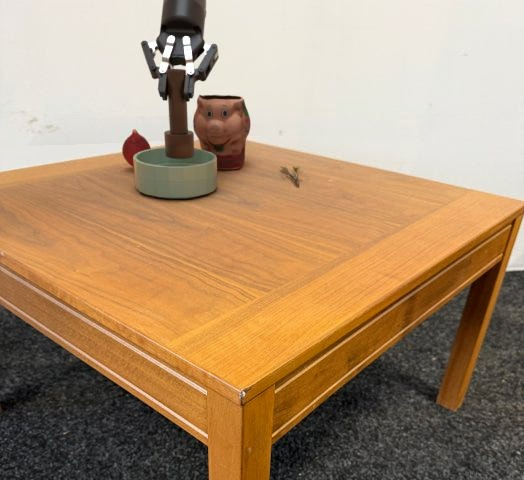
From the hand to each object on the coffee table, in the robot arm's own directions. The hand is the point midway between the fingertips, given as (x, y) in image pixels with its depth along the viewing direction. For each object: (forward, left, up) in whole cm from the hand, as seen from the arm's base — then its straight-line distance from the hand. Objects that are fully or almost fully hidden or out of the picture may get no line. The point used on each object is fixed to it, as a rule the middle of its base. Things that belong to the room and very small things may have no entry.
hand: (175, 97), depth 93 cm
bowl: (-1, +4, -16) cm, 17 cm away
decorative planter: (+9, +23, -17) cm, 30 cm away
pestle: (0, +2, -10) cm, 10 cm away
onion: (-9, +18, -17) cm, 26 cm away
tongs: (+24, +10, -17) cm, 31 cm away
